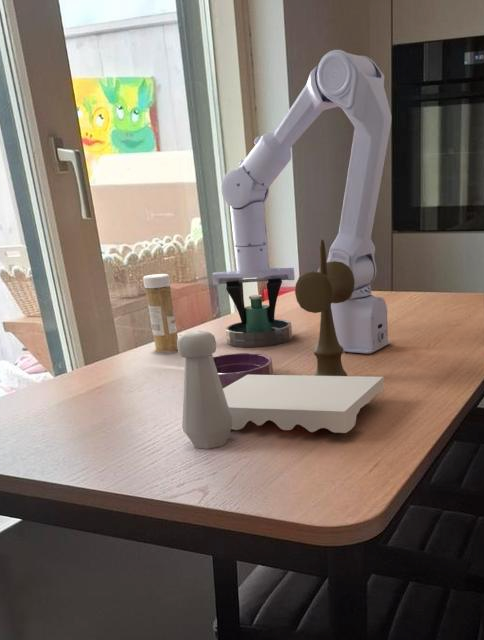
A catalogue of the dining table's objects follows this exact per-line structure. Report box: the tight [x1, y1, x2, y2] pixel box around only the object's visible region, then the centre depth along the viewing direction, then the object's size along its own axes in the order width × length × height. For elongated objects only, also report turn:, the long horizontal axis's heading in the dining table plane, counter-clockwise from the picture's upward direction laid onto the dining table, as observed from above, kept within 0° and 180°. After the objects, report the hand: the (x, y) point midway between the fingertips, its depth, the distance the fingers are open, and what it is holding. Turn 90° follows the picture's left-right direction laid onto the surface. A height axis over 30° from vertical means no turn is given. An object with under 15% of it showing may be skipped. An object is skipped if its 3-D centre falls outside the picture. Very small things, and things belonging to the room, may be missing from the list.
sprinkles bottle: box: [142, 273, 179, 353], centre depth 125 cm, size 5×5×13 cm
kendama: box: [294, 239, 355, 376], centre depth 99 cm, size 6×10×20 cm, turn 160°
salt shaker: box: [177, 330, 232, 450], centre depth 80 cm, size 6×6×13 cm
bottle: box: [244, 294, 272, 332], centre depth 129 cm, size 5×5×8 cm
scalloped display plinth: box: [223, 374, 384, 434], centre depth 90 cm, size 15×3×20 cm
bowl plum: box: [213, 352, 274, 388], centre depth 105 cm, size 12×12×3 cm
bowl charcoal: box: [225, 318, 293, 348], centre depth 130 cm, size 12×12×3 cm
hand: (258, 322), depth 129 cm, fingers closed on bottle, 4 cm apart
